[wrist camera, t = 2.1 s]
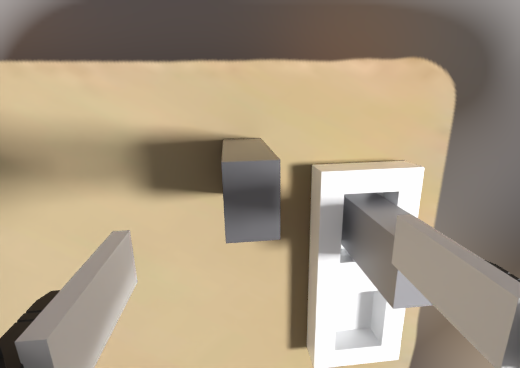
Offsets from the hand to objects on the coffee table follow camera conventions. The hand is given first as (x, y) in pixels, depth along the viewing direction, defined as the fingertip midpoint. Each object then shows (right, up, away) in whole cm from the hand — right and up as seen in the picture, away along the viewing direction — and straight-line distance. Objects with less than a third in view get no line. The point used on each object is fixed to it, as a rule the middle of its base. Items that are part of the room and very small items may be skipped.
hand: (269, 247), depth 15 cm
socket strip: (+11, -6, +23) cm, 26 cm away
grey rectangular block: (-2, +5, +18) cm, 19 cm away
